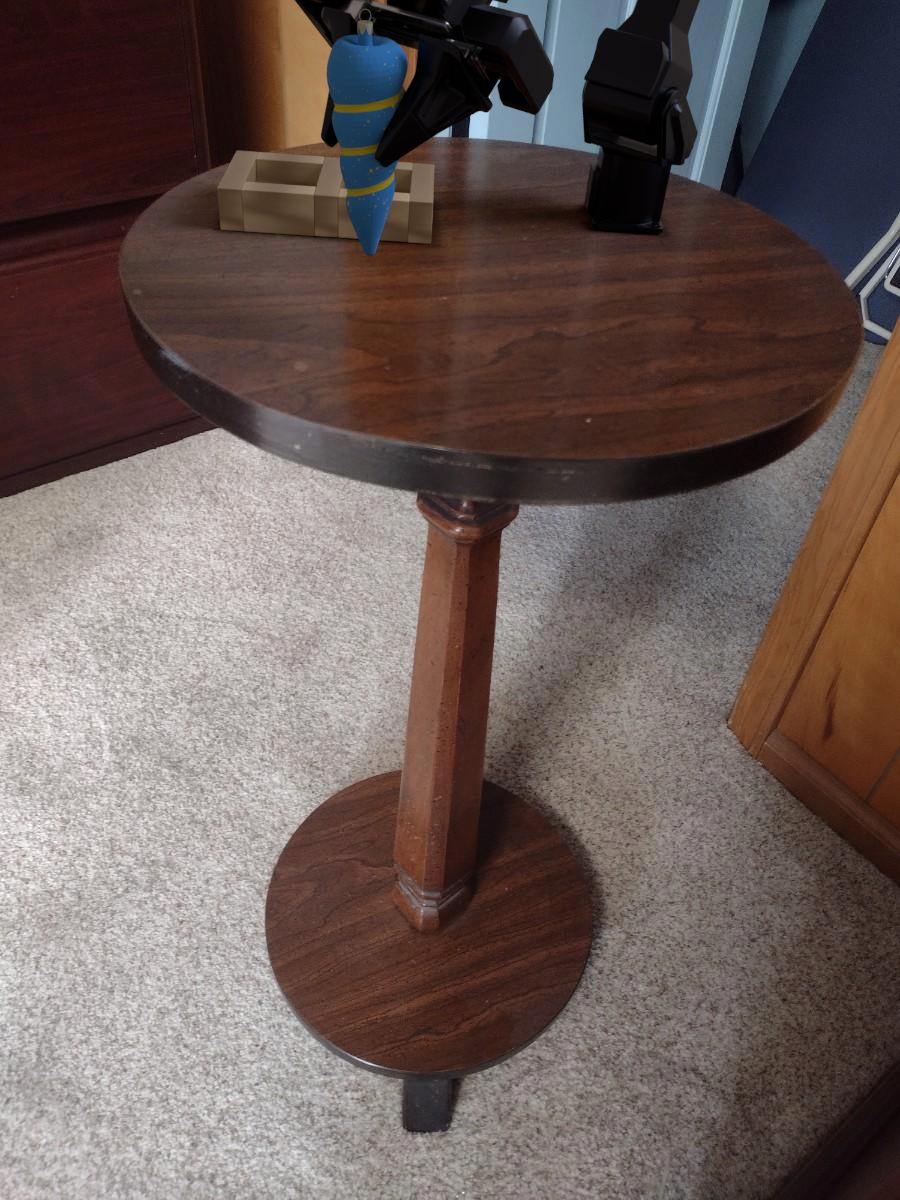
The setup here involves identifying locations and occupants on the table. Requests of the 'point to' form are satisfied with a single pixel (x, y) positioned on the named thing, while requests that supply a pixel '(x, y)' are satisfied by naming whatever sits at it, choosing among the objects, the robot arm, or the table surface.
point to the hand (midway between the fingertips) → (351, 152)
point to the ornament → (365, 123)
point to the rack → (316, 198)
